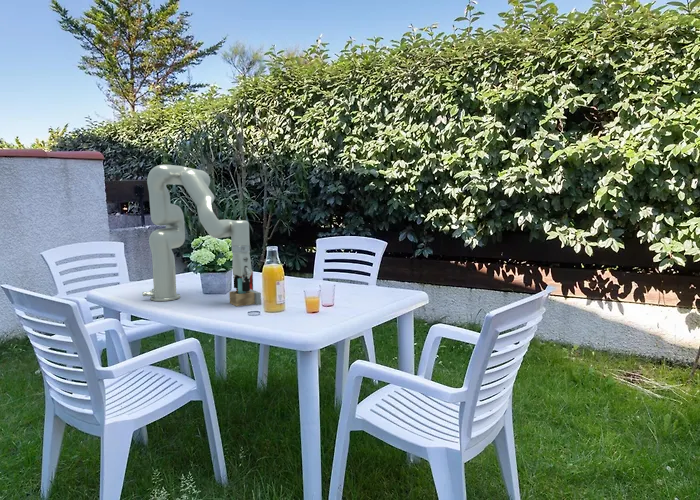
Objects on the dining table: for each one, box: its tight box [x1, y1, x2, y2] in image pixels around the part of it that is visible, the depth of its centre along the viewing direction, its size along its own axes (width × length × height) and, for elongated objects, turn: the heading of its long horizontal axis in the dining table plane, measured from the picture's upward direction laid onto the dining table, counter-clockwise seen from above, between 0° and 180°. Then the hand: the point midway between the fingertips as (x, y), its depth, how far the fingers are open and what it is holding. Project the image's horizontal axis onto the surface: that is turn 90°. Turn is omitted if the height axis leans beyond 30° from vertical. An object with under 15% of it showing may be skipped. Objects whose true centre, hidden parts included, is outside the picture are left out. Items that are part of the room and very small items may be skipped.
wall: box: [250, 289, 262, 306], centre depth 214 cm, size 2×12×5 cm, turn 36°
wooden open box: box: [229, 290, 256, 307], centre depth 211 cm, size 8×8×5 cm
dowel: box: [238, 278, 246, 294], centre depth 210 cm, size 3×3×10 cm
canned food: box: [235, 269, 254, 291], centre depth 232 cm, size 8×8×11 cm
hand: (241, 289), depth 210 cm, fingers open, 8 cm apart
